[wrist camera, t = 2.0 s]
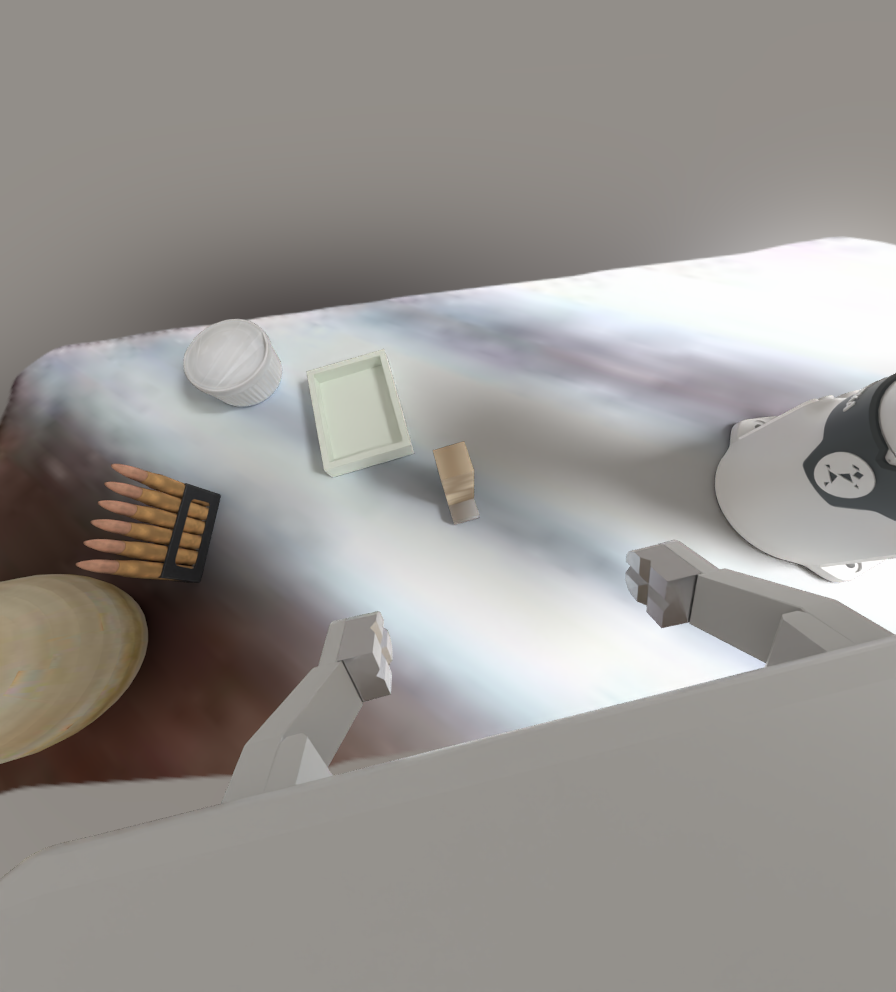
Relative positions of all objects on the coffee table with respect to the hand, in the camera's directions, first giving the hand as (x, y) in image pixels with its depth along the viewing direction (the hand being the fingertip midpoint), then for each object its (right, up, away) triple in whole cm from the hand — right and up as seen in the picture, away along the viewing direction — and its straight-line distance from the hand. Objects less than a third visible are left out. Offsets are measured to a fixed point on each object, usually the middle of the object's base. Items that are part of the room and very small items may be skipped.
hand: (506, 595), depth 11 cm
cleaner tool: (-1, +3, +28) cm, 28 cm away
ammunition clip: (-31, -2, +29) cm, 43 cm away
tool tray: (-13, +14, +32) cm, 38 cm away
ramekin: (-30, +20, +36) cm, 50 cm away
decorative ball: (-38, -14, +26) cm, 48 cm away
